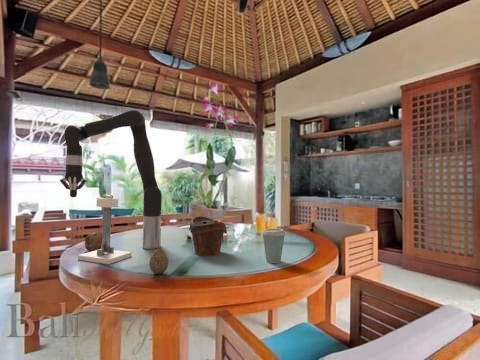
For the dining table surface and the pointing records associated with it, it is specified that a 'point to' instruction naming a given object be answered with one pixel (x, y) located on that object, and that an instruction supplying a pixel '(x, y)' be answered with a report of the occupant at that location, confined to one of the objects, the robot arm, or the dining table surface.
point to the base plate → (105, 256)
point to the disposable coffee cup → (273, 244)
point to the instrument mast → (106, 219)
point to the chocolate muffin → (207, 235)
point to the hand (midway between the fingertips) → (73, 197)
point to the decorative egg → (158, 262)
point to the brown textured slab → (93, 241)
